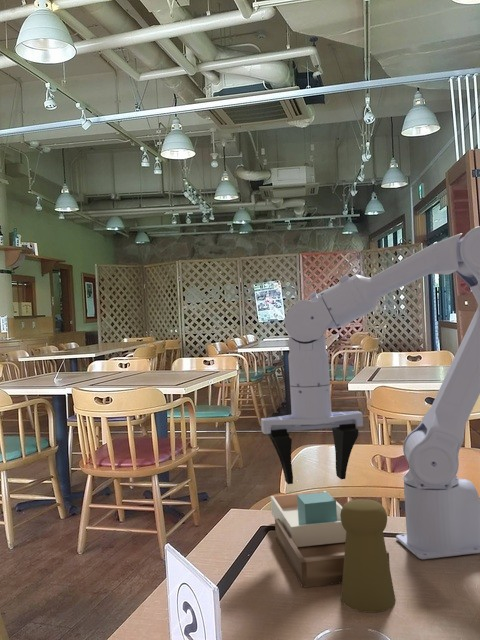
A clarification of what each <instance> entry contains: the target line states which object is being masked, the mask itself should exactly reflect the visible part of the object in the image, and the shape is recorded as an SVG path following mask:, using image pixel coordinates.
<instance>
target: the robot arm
mask: <svg viewBox="0 0 480 640" xmlns="http://www.w3.org/2000/svg"><path fill="white" fill-rule="evenodd" d="M462 235H463V233H458V234H456V235H453V236H450V237H447V238H445V239H442V240H440V241H437V242H435V243H432V244H430V245H429V246H428V245H427V246H426V247H425V248H423V249H421V250H419V251H417V252H415V253H413V254H412V255H410V256H407V257H406V258H405V259H401V261H399V262H397V263H395V264H393V265H391V266H390V267H387V268H386V269H383V270H382V271H380V272H378V273H376V274H374V275H372V276H371V277H366V276H363V275H361V274H354V275H352V276H349V275H348V274H345V275H343V276H341V277H338V278H339V279H338V280H339V282H338V283H336V284H334V285H332V286H330V287H328V288H326V289H324V290H322V291H321V292H319V293H317V291H314V292H312V293H310V294H309V296H308V297H310V299H299V300H298V301H297V302H296V303H294V304H293V305H292V306H290V308H289V309H288V310H287V311H286V313H285V317H284V327H285V330H286V332H287V334H288V335H289V337H288V342H287V343H288V345H287V347H288V351H289V353H288V356H287V357H288V372H289V374H288V375H289V391H290V393H289V394H290V406H291V407H290V410H291V412H290V413H291V414H287V415H279V416H273V417H263V418H260V427H261V433H263V434H264V435H268V437H269V439H270V441H271V443H272V445H273V447H274V449H275V451H276V453H277V456H278V459H279V462H280V464H281V468H282V470H283V471H282V472H283V476H284V481H285V482H286V483H287V485H293V484H294V475H293V474H294V473H293V467H292V443H293V441H292V440H293V439H292V438H291V437H290V433H288V432H294V431H306V430H307V431H308V430H319V429H320V430H321V429H331V431H332V436H333V443H334V451H335V452H334V453H335V473H336V477H337V478H339V479H340V480H346V475H347V470H348V465H349V461H350V456H351V453H352V450H353V448H354V445H355V443H356V442H357V440H358V438H359V428H357V427H364V422H363V421H364V420H363V417H364V416H363V413H362V411H358V410H356V411H355V410H354V411H332V400H331V399H332V398H331V397H332V396H331V383H330V378H331V376H330V362H329V353H328V351H327V341H326V335H325V334H326V332H327V330H328V329H332V330H338V329H339V328H341V327H344V326H346V325H347V324H349V323H352V322H354V321H356V320H358V319H360V318H362V317H364V316H366V315H369V314H370V313H372V312H374V311H375V310H376V309H377V305H378V303H379V302H378V301H379V299H380V297H383V296H385V295H388V294H389V293H391V292H394V291H395V290H399V289H400V288H402V287H405V286H407V285H410V284H411V283H413V282H416V281H417V280H419V279H420V280H421V279H422V278H424V277H426V276H428V275H433V274H434V275H444V276H445V275H451V274H452V273H455V274H456V275H458V277H460V278H461V279H462V280H463V281H464V282H465V284H467V286H468V287H469V289H470V291H471V293H472V295H473V297H474V299H475V301H476V302H477V308H476V311H475V312H474V315H473V316H472V318H471V321H470V323H469V325H468V327H467V330H466V331H465V333H464V336H463V337H462V341H461V343H460V344H459V347H458V349H457V351H456V353H455V354H454V357H453V359H452V362H451V364H450V366H449V368H448V370H447V373H446V374H445V377H444V378H443V380H442V383H441V385H440V387H439V390H438V391H437V393H436V395H435V398H434V400H433V402H432V404H431V407H430V408H429V409H428V410H427V412H426V413H425V414H424V415H423V417H422V418H421V421H420V423H419V424H418V426H417V427H415V429H413V430H411V431H410V432H409V433H408V434H407V435H406V437H405V438H404V441H403V445H402V449H403V450H402V452H403V455H404V458H405V460H406V461H407V463H408V471H407V473H406V474H405V475H404V476H403V490H404V491H403V492H404V494H403V495H404V509H405V527H406V529H405V530H406V531H405V532H406V533H402V534H397V535H396V536H395V538H396V540H397V541H398V542H400V544H402V545H403V546H404V547H405V548H406V549H407V550H409V551H410V552H411V554H413V555H414V556H415V557H416V558H417V559H420V560H430V559H438V558H447V557H455V556H456V557H457V556H462V555H472V554H480V496H479V492H478V490H477V487H476V486H475V485H474V483H473V482H472V481H470V480H469V479H468V478H459V477H458V475H457V474H458V471H459V468H460V467H459V466H460V463H459V462H460V461H459V453H460V449H461V447H462V445H463V443H464V437H465V430H466V429H465V428H466V424H467V422H468V420H469V418H470V416H471V413H472V411H473V409H474V407H475V405H476V404H477V401H478V399H479V397H480V225H479V226H476V227H473V228H472V229H470V230H468V232H466V234H465V235H463V236H462ZM461 236H462V237H461Z"/></svg>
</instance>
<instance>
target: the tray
mask: <svg viewBox="0 0 480 640" xmlns="http://www.w3.org/2000/svg"><path fill="white" fill-rule="evenodd" d="M321 492H327V490H323V491H321V490H320V491H311V492H301V493H288V494H281V495H279V494H278V495H270V507H271V508H270V510H271V516H272V517H273V519H274V520H275V519H280V521H281V523H282V524H283V526H284V527H285V529H286V531H287V532H288V534H289V535H290V537H291V539H292V540H293V542H294V543H295V545H296V547H303V546H313V545H322V544H332V543H341V542H345V541H346V530H345V529H344V528H343V526H342V522H341V517H340V514H341V509H342V508H343V506H342V505H341V503H339V502H338V501H337V500H336V510H337V521H335V522H325V523H315V524H305V525H299V522H298V503H297V495H300V494H311V493H321ZM327 493H328V494H329V495H330V496H331V497H332V498H334V497H333V496H332V495H331V494H330V493H329V492H327Z"/></svg>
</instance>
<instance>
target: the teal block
mask: <svg viewBox="0 0 480 640" xmlns="http://www.w3.org/2000/svg"><path fill="white" fill-rule="evenodd" d="M328 493H329V492H327V491H326V492H321V493H311V494H300V495H297V503H298V522H299V525H305V524H315V523H325V522H335V521H337V510H336V501H337V500H336V499H335V498H334V497H333V496H332V495H331V494H330V493H329V494H330V495H331V496H332V497H333V498H332V497H331V496H330V495H329V494H328Z"/></svg>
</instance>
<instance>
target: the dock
mask: <svg viewBox="0 0 480 640" xmlns="http://www.w3.org/2000/svg"><path fill="white" fill-rule="evenodd" d="M274 525H275V526H274V527H275V529H274V530H275V540H276V542H277V544H278V546H279V547H280V549H281V551H282V553H283V555H284V557H285V558H286V560H287V562H288V564H289V566H290V567H291V569H292V572H293V573H294V575H295V576H296V578H297V580H298V582H299V583H300V586H301V587H302V588H310V587H321V586H331V585H337V584H342V581H343V567H344V554H345V542H341V543H332V544H322V545H313V546H303V547H296V545H295V543H294V542H293V540H292V539H291V537H290V535H289V534H288V532H287V531H286V529H285V527H284V526H283V524H282V523H281V521H280V519H275V518H274ZM387 557H388V562H389V567H390V568H391V566H390V564H391V563H390V553H389V551H387Z"/></svg>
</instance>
